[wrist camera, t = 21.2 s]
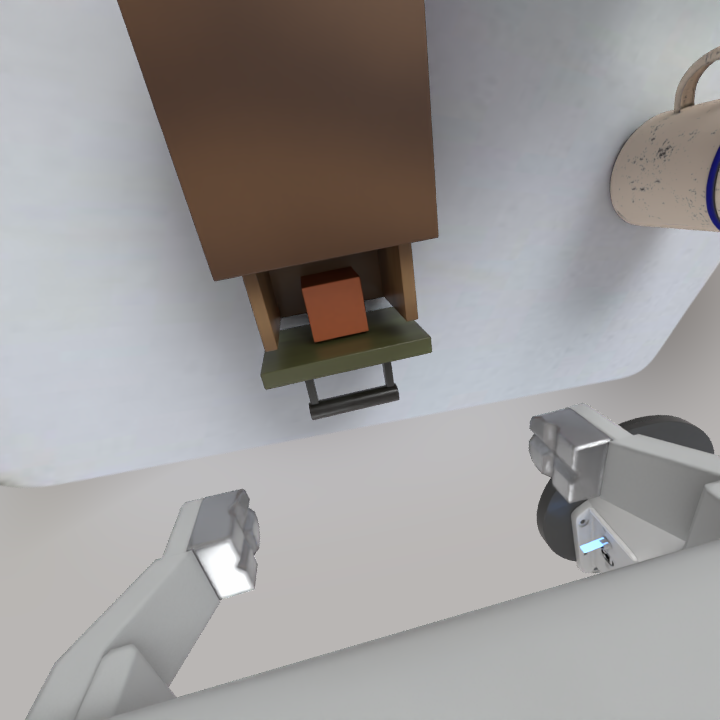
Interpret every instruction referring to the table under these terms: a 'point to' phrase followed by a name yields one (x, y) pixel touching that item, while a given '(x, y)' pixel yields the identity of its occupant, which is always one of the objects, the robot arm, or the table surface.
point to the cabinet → (292, 124)
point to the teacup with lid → (673, 163)
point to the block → (334, 303)
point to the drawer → (319, 359)
